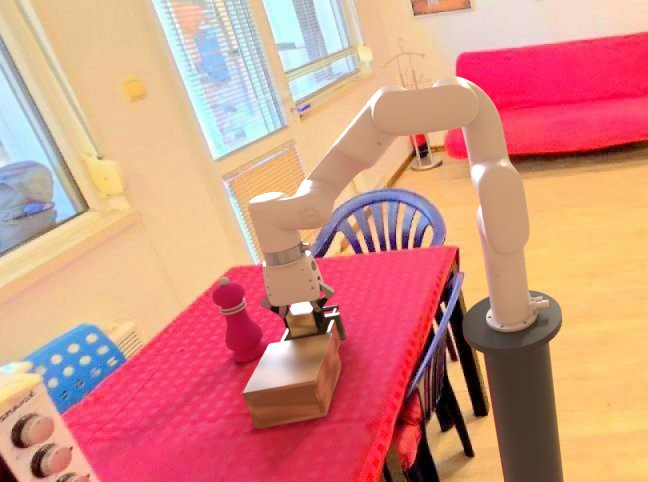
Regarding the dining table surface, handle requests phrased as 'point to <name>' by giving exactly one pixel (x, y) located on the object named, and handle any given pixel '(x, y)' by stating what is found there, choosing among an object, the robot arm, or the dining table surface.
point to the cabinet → (293, 381)
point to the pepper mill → (238, 321)
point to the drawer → (325, 327)
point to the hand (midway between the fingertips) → (306, 326)
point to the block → (301, 319)
